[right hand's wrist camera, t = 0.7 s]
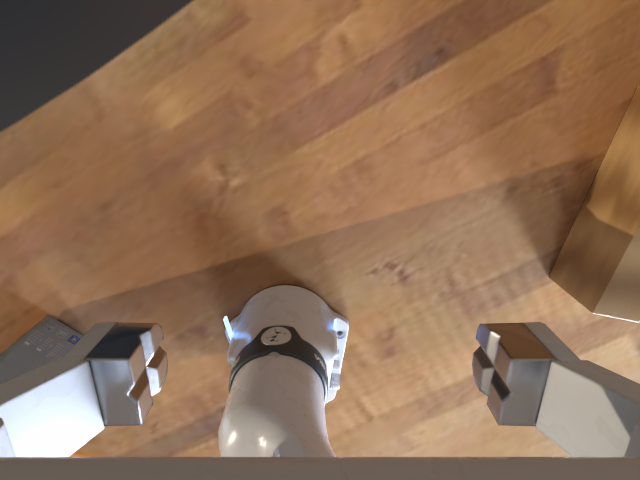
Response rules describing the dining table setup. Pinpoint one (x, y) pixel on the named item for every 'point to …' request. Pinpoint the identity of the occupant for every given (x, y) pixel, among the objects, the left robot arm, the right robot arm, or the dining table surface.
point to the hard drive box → (37, 348)
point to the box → (608, 231)
